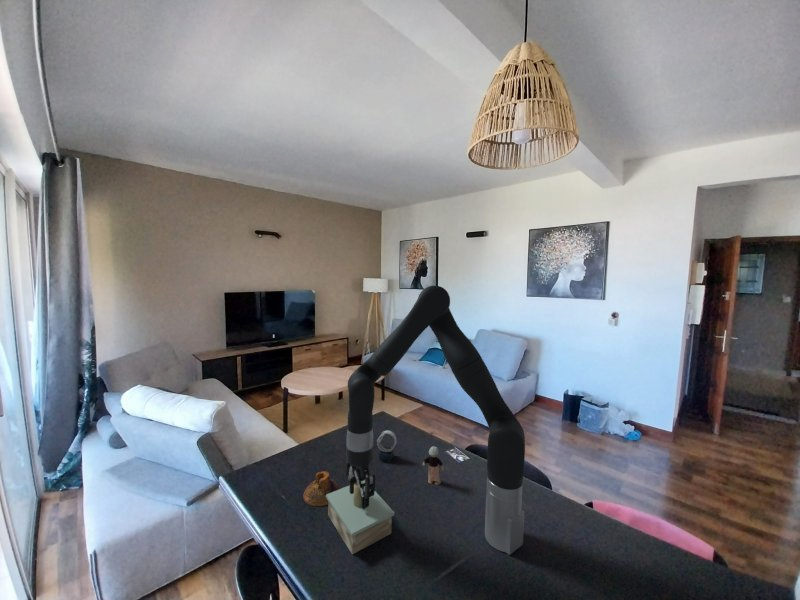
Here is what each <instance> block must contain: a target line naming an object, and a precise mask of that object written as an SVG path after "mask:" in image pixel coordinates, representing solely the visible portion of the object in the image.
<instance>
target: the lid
mask: <svg viewBox="0 0 800 600" xmlns="http://www.w3.org/2000/svg"><path fill="white" fill-rule="evenodd" d="M364 482H365V480H364V481H361V484H362V483H364ZM349 488H350V484H349V485H347V486H344V487H342V488H340V489H339V490H337V491H334V492H332V493H329V494H327V495H326V498H327V500H328V501H329V503H330V504H331V506H332V507H333V509H334V510H335V512H336V513H337V515H338V516H339V518H340V520H341V521H342V523H343V524H344V526H345V527H346V529H347V530H348V532H349V533H350V535H351V536H354V535H356V534H358V533H360V532H362V531H364V530H366V529H368V528H370V527H372V526H374V525H376V524H378V523H380V522H382V521H384V520H386V519H387V518H389V517H391V516H392V517H393V516H395V511H394V510H393V509H392V508H391V507H390V506H389V504H388V503H387V502H385V500H384V499H383V498H382V497H381V496H380V494H379V493H377V491H375V493H374V496H371V497H369V506H368V507H367V508H365V509H362V508H361V490H360V488H359V487H358V484H357V482H356V483H355V484H354V493H353V494H350V492H349ZM363 488H364V491H365V486H364V487H363Z"/></svg>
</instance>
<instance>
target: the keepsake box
mask: <svg viewBox="0 0 800 600" xmlns="http://www.w3.org/2000/svg"><path fill="white" fill-rule="evenodd" d="M327 516H328V517H329V519H330V521H331V523H332V524H333V525H334V527H335V528H336V531H337V532H338V534H339V536H340V537H341V539H342V540H343V542H344V543H345V546H347V548H348V550H349V552H350V553H351V555H354V554H356V553H358V552H360V551H361V550H363V549H365V548H367V547H369V546H371V545H373V544H374V543H377V542H378V541H380V540H382V539H384V538H385V537H387V536H389V535H391V534H392V524H393V523H392V519H393V516H391V517H389V518H387V519H386V520H384V521H382V522H380V523H378V524H376V525H374V526H372V527H370V528H368V529H366V530H364V531H362V532H360V533H358V534H356V535H354V536H351V535H350V533H349V532H348V530H347V529H346V527H345V526H344V524H343V523H342V521H341V520H340V518H339V516H338V515H337V513H336V512H335V510H334V509H333V507H332V506H331V504H330V503H329V501H328V505H327Z"/></svg>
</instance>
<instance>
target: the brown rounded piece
mask: <svg viewBox="0 0 800 600" xmlns="http://www.w3.org/2000/svg"><path fill="white" fill-rule="evenodd" d="M314 478H315V479H314V480H313V481H311V482H310V483H309V484H308V485H307V487H306V488H305V489H304V492H303V495H302V498H303V501H304V503H306V504H307V505H309V506H311V507H323V506H328V500H327V498H326V495H327V494H329V493H332V492H334V491H337V490H339V489H341V487H340V485H339V484H338V482H336V481H335V480H334V479H332V478H331V477H330V473H329V472H328V471H319V472H317V473H316V474H315V476H314Z"/></svg>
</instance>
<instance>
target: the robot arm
mask: <svg viewBox="0 0 800 600" xmlns="http://www.w3.org/2000/svg"><path fill="white" fill-rule="evenodd" d="M450 307H451V298H450V293H449V292H448V291H447V290H446V289H445V288H444V287H442V286H439V285H429V286H427V287H424V288H423V289H422V290H421V292H420V293H419V294H418V297H417V299H416V302H415V303H414V304H413V306H412V308H411V310H409V312H408V314H407V315H406V316H405V317H404V319H402V321H401V322H400V324H398V326H396V328H395V329H394V330H393V331H392V332H391V333H390V334H389V335H388V336H387V337H386V338H385V339H384V340H383V342H381V344H380V345H379V346H378V347H377V349H376V350H375V351H374V352H373V353H372V354H371V356H370V357H369V358H368V359H367V360H365V361H364V362H363V363H362V364H360V366H358V367H357V368H355V370H354V371H353V373H352V374H351V375H350V376H349V378H348V380H347V389H348V391H347V392H348V409H349V410H348V412H347V413H348V414H347V430H346V431H347V432H346V443H345V445H346V452H345V457H344V460H345V461H344V463H345V465H344V466H345V475H346V476H348V478H347V480H348V481H349V485H350V488H349V492H350V494H353V493H354V484H355V483H356V482H357V484H358V487H359V488H360V490H361V508H362V509H365V508H367V507H368V506H369V497H371V496H374V493H375V490H376V475H375V474H372V475H371V474H370V464H371V463H372V461H373V460H374V459H373V458H374V432H373V426H374V425H373V418H374V417H373V409H374V402H375V386H374V385H375V383H376V382H377V381H378V380H379V379H380V378H381V377H385V376H387V375H388V374H389V373H390V372H392V370H393V369H394V368H395V367H396V366H397V365H398V363H399V362H400V361H401V360H402V358H403V357H404V356H405V355H406V353H407V352H408V351H409V349H411V347H412V346H413V344H414V343H415V341H417V339H418V338H419V337H420V336H421V334H422V333H423V332H424V331H425V330H426V329H427V328H428V327H429V328H430V329H431V331H432V332H433V334H434V335H435V338H436V339H437V341H438V343H439V346H440V349H441V350H442V354H443V355H444V357H445V360H446V361H447V364H448V366H449V368H450V370H451V372H452V375H454V377H455V379H456V381H457V383H458V384H459V386H460V387H461V388H462V390H463V391H464V393H465V394H467V395H468V396H469V397H470V399H472V400H473V402H474V403H475V405H477V406H478V408H479V410H480V412H481V413H482V415H483V417H484V420H485V421H486V424H487V426H488V429H489V433H488V439H487V457H486V459H487V460H486V474H487V475H486V494H485V495H486V497H485V498H486V499H485V515H484V516H485V518H484V519H485V520H484V523H485V524H484V538H485V540H486V541H487V543H488V544H489V545H490V546H491V547H492V548H494V549H495V550H497V551H499V552H503V553H506V554H507V555H508V556H510V555H512V554H513V553H514V552H515V551H516V550H518V549H520V547H522V546H523V544H524V531H525V529H524V527H525V511H524V510H523V509H522V504H523V503H522V501H523V500H522V499H523V485H524V484H523V483H524V482H523V481H524V480H523V479H524V474H525V472H524V471H525V470H524V469H525V459H526V458H525V454H526V442H525V441H526V438H525V437H526V436H525V431H524V428H523V426H522V425H521V423H520V422H519V420H518V419H517V417H516V416H515V414H514V413H513V412H512V410H511V409H510V408H509V405H507V403H506V402H505V400H504V398H503V397H502V394H501V393H500V391H499V389H498V387H497V384H496V382H495V380H494V377H493V376H492V375H491V372H490V370H489V369H488V367H487V365H486V363H485V361H484V359H483V357H482V356H481V354H480V352H479V351H478V350H477V348H476V347H475V345H474V344H473V343H472V341H471V340H470V339H469V338H468V337H467V335H466V334H465V333H464V332H463V331H462V330H461V329H460V327H459V325H458V323H457V322H456V320H455V318H454V316H453V314H452V313H453V312H451V309H450ZM364 480H365V482H364V483H362V484H361V481H364ZM364 486H365V491H364V488H363V487H364Z"/></svg>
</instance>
